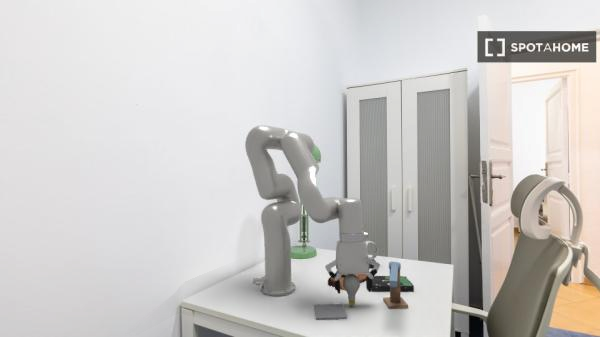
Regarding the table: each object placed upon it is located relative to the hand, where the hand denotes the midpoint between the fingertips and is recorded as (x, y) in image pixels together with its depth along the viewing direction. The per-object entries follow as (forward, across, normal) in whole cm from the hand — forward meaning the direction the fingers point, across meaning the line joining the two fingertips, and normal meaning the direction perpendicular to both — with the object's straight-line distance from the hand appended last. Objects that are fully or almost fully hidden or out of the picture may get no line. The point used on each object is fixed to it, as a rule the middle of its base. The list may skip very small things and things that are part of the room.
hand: (353, 291), depth 99 cm
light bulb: (+5, +1, 0) cm, 5 cm away
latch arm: (-6, -11, +6) cm, 14 cm away
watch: (+5, -14, -38) cm, 41 cm away
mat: (+5, +8, +4) cm, 10 cm away
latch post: (+5, -13, 0) cm, 14 cm away
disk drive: (+6, -16, -15) cm, 23 cm away
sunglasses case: (+5, -3, -21) cm, 22 cm away
